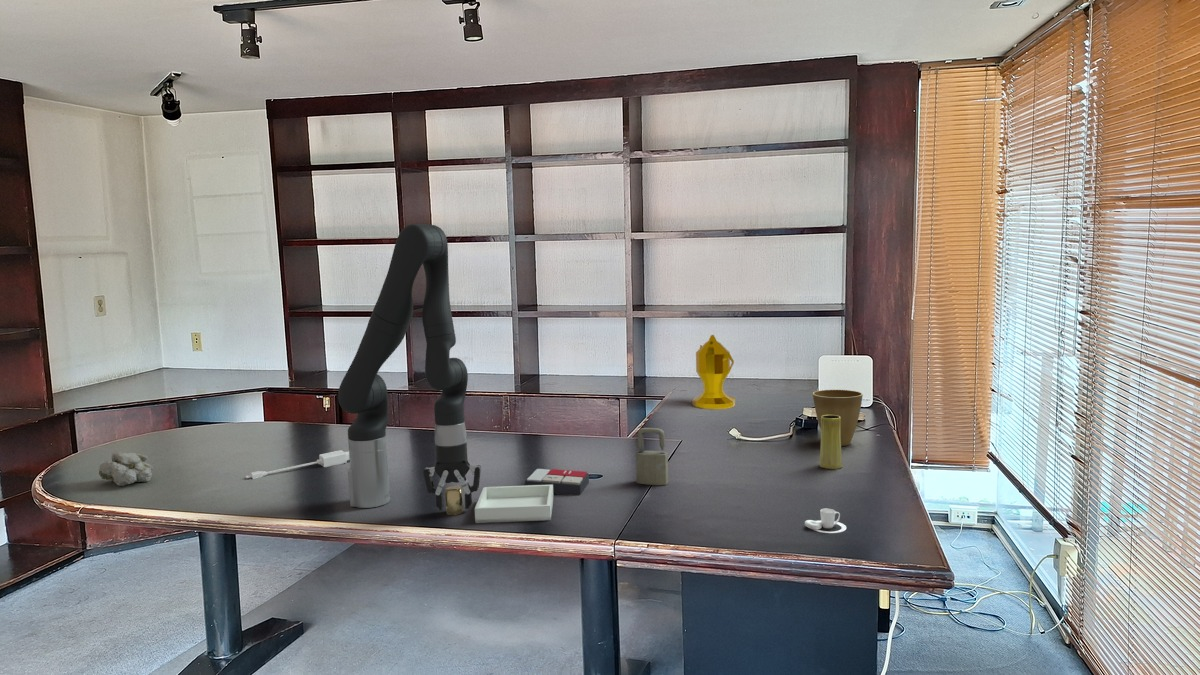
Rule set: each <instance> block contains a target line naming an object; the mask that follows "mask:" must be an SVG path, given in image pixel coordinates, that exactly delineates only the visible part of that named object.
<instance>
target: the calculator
mask: <svg viewBox="0 0 1200 675" xmlns="http://www.w3.org/2000/svg"><path fill="white" fill-rule="evenodd" d="M587 472H588V471H582V470H568V469H554V468H552V469H544V468H536V469H535V470H534V471H533V472H532V473H531V474H530V475H529V476H528V477H527V478H526V479H525V480H524V486H528V485H553V495H565V496H580V495H582V493H584V491H585V489H586V488H587V486H588V485H589V484H590V473H587Z"/></svg>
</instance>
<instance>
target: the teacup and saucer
mask: <svg viewBox="0 0 1200 675" xmlns="http://www.w3.org/2000/svg"><path fill="white" fill-rule="evenodd" d="M819 512H820V520H813V519H807V520H804V526H805V527H806V528H808V529H811V530H813V531H814V532H818V533H822V534H823V533H824V534H839V533H843V532H846V530H847V525H845V524H844V523H842V522H839V521H840V518H841V514H840V512H839V511H836V510H835V509H833V508H825V507H824V508H821V509H820V511H819ZM836 514H838V518H837V519H836V520H835V518H836ZM836 525H837V526H840V527H841V529H839V530H835V531H826V530H821V529H822V527H823V528H824V529H832V528H833V527H834V526H836Z"/></svg>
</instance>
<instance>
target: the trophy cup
mask: <svg viewBox="0 0 1200 675" xmlns="http://www.w3.org/2000/svg"><path fill="white" fill-rule="evenodd" d="M734 363H735V360H734V359H733V357H732V356H731V353H730V351H729V350H728V349H727V348H726V347H725V346H724V345H723V344H722V343H721V342H719V341H717V338H716V337H715V335H714V334H710V336H709V338H708V340H707V341H706V342H705V343H704V344H702V345H699V349H697V351H696V352H695V370H696V373H697V375H698V377H699V379H700V380H701V382H702V384H703V386H702V387H703V391H702V392H701V394H700V395H698V396H696V397H694V398H693V399H692V401H691V402H692V406H694V407H695V408H700V409H703V410H726V409H730V408H733V407H735V405H736V397H735V396H734V397H733V396H729V395H727V393H726V392H725V391H724V383H725V381H726V379H727V377H728V375H729V374H730V373H731V370H732V367H733V365H734Z"/></svg>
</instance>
